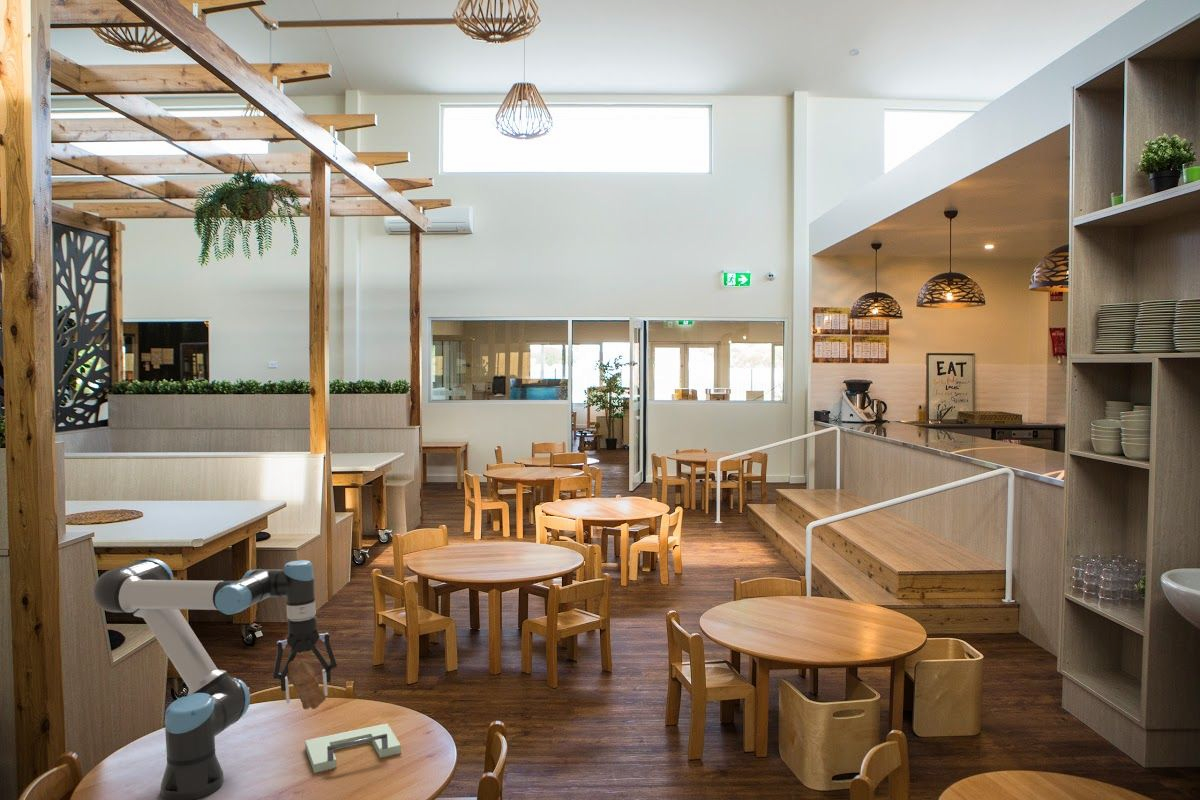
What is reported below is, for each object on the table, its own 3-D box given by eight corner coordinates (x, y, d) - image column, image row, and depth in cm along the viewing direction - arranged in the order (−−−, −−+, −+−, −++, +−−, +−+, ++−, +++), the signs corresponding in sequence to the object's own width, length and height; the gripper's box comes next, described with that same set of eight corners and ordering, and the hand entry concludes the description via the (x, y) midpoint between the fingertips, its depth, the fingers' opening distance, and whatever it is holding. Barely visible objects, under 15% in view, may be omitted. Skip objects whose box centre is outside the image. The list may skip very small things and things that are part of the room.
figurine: (327, 703, 236) (324, 650, 235) (313, 715, 228) (310, 660, 227) (299, 703, 237) (296, 650, 236) (284, 714, 229) (281, 660, 228)
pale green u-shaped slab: (314, 772, 231) (313, 764, 231) (305, 748, 246) (305, 740, 246) (401, 753, 242) (400, 744, 242) (387, 730, 257) (387, 723, 257)
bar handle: (328, 761, 232) (327, 747, 232) (327, 759, 234) (327, 745, 233) (387, 748, 240) (387, 734, 240) (386, 746, 241) (386, 732, 241)
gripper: (259, 627, 224) (265, 710, 224) (344, 614, 233) (349, 694, 233) (258, 620, 230) (263, 701, 231) (341, 607, 239) (345, 685, 240)
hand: (306, 697), depth 232 cm, fingers closed on figurine, 9 cm apart
